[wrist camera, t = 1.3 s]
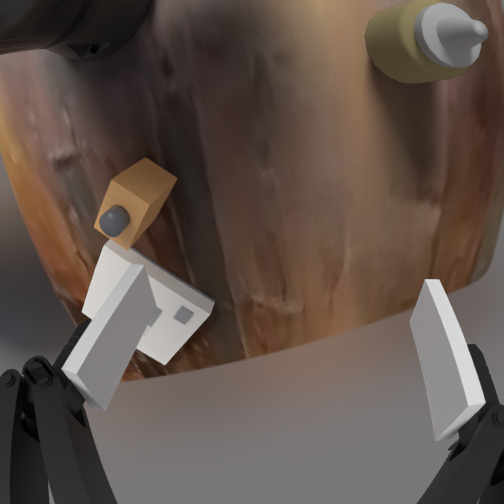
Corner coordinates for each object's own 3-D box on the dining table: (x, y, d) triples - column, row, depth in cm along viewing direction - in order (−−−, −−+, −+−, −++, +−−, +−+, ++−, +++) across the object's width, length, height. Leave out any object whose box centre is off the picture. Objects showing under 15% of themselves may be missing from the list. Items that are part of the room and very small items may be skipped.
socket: (89, 301, 52) (80, 313, 49) (114, 234, 43) (102, 246, 40) (170, 353, 56) (164, 366, 53) (215, 300, 46) (209, 316, 44)
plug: (125, 199, 40) (84, 235, 31) (145, 157, 36) (101, 186, 28) (155, 219, 41) (119, 260, 32) (178, 178, 37) (140, 213, 29)
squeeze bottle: (438, 77, 25) (541, 96, 10) (372, 88, 28) (439, 107, 13) (415, 9, 21) (504, -29, 6) (347, 19, 24) (390, -34, 9)
